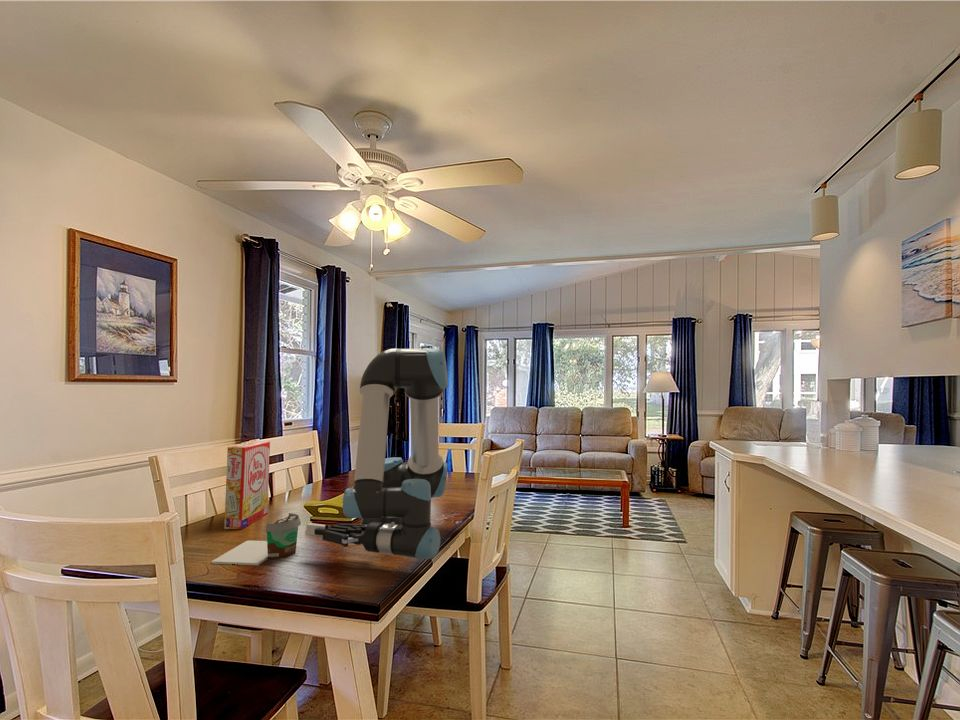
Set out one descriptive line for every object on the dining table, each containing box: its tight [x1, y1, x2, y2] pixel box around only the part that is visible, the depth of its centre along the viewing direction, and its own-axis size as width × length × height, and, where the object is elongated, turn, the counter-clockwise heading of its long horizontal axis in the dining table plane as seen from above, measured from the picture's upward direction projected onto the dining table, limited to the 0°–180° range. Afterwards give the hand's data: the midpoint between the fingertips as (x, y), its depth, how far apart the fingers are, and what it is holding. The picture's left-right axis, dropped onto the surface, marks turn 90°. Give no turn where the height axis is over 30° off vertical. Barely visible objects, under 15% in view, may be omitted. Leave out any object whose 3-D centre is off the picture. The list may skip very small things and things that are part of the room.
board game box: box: [223, 440, 271, 530], centre depth 175 cm, size 20×6×27 cm, turn 0°
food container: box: [265, 513, 302, 560], centre depth 142 cm, size 12×6×10 cm, turn 171°
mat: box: [210, 540, 269, 566], centre depth 142 cm, size 13×18×1 cm
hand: (308, 528), depth 139 cm, fingers closed
